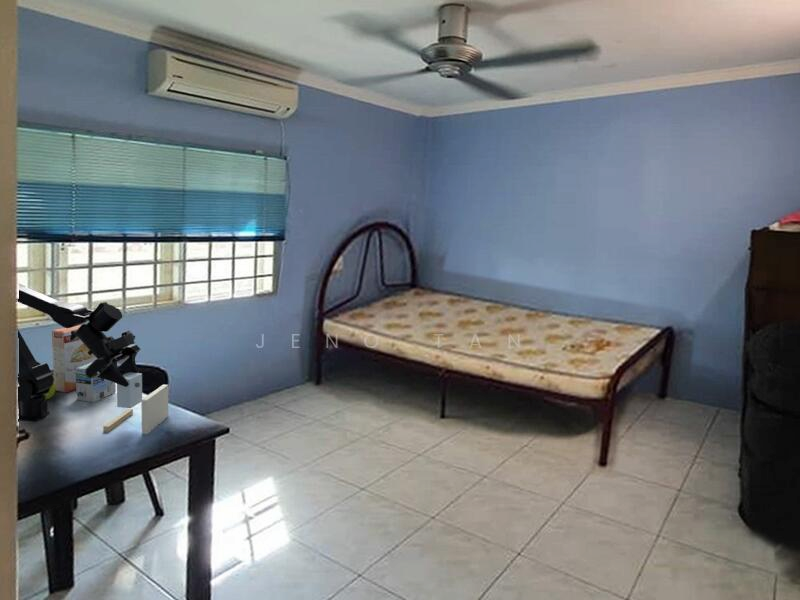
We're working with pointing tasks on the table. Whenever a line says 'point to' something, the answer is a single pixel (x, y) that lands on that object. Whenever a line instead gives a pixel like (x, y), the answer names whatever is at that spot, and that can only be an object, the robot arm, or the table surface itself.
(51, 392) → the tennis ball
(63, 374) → the cracker box
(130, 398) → the pale grey square box
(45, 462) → the table surface
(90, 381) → the light bulb box
